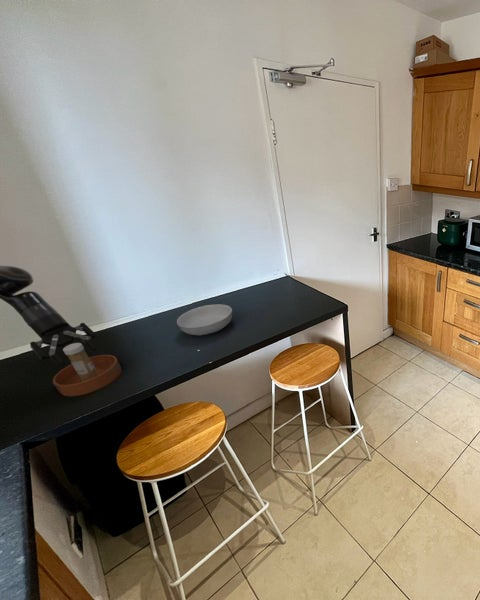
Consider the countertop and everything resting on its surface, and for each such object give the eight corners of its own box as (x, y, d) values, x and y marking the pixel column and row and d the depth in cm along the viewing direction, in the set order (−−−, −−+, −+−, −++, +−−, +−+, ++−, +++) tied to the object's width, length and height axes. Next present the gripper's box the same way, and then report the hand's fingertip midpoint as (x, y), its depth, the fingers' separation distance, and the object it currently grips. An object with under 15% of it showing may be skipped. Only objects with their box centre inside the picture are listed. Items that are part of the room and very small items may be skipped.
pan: (63, 404, 98) (55, 393, 96) (56, 381, 108) (50, 371, 106) (126, 377, 109) (121, 367, 107) (116, 359, 119) (111, 349, 117)
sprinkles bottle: (102, 374, 110) (85, 342, 104) (89, 383, 106) (69, 351, 100) (92, 373, 111) (74, 341, 104) (78, 381, 107) (58, 349, 100)
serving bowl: (245, 323, 141) (241, 310, 138) (198, 347, 125) (193, 333, 122) (218, 312, 151) (214, 299, 147) (171, 332, 135) (166, 319, 131)
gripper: (13, 325, 95) (51, 365, 96) (72, 305, 106) (106, 341, 107) (15, 336, 99) (51, 374, 100) (72, 315, 111) (104, 350, 112)
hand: (79, 357), depth 104 cm, fingers open, 8 cm apart
